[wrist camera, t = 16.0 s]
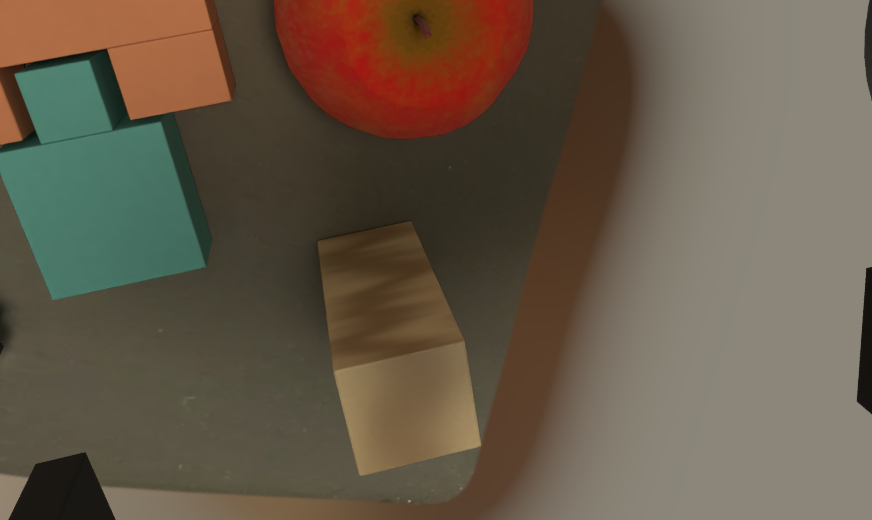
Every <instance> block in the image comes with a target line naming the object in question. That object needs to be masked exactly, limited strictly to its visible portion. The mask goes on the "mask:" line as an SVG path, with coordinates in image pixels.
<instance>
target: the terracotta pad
mask: <svg viewBox="0 0 872 520" xmlns="http://www.w3.org/2000/svg"><path fill="white" fill-rule="evenodd" d="M102 49H107V50H108V53H109V56H110V59H111V62H112V66H113V69H114V72H115V75H116V78H117V81H118V84H119V87H120V90H121V93H122V96H123V99H124V102H125V105H126V108H127V111H128V114H129V118H130V120H134V119H139V118H145V117H150V116H155V115H160V114H165V113H171V112H176V111H181V110H186V109H191V108H197V107H202V106H207V105H212V104H217V103H223V102H228V101H231V100H232V96H233V92H234V89H235V81H234V77H233V73H232V70H231V66H230V62H229V58H228V54H227V51H226V47H225V43H224V39H223V35H222V32H221V28H220V24H219V21H218V17H217V13H216V9H215V5H214V1H213V0H0V145H3V144H8V143H13V142H19V141H22V140H23V139H25V138H26V137H27V136H28V135H29V134H30V133H32V132H33V131H34V130H35V127H34V125H33V122H32V120H31V117H30V114H29V112H28V109H27V107H26V104H25V101H24V99H23V96H22V94H21V91H20V88H19V86H18V83H17V81H16V78H15V73H17V72H19V71H20V70H22V69H24V68H25V67H24V64H25V63H31V62H36V61H42V60H47V59H53V58H58V57H64V56H69V55H75V54H80V53H86V52H91V51H97V50H102Z"/></svg>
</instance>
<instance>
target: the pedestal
mask: <svg viewBox="0 0 872 520" xmlns="http://www.w3.org/2000/svg"><path fill="white" fill-rule="evenodd" d="M317 244H318V252H319V260H320V268H321V276H322V284H323V292H324V300H325V308H326V316H327V324H328V332H329V340H330V348H331V356H332V364H333V372H334V376H335V380H336V384H337V388H338V392H339V396H340V401H341V405H342V409H343V413H344V417H345V421H346V425H347V429H348V433H349V437H350V441H351V445H352V449H353V453H354V457H355V461H356V465H357V469H358V473H359V475H360V476H363V475H367V474H371V473H376V472H380V471H384V470H388V469H392V468H396V467H400V466H404V465H408V464H412V463H416V462H420V461H424V460H428V459H432V458H436V457H440V456H444V455H448V454H452V453H456V452H460V451H464V450H468V449H472V448H476V447H480V446H481V440H480V434H479V428H478V421H477V415H476V409H475V403H474V396H473V390H472V384H471V377H470V371H469V365H468V359H467V352H466V346H465V341H464V339H463V337H462V334H461V332H460V330H459V328H458V325H457V323H456V321H455V319H454V316H453V314H452V312H451V310H450V307H449V305H448V303H447V301H446V298H445V296H444V294H443V292H442V289H441V287H440V285H439V283H438V281H437V278H436V276H435V274H434V272H433V269H432V267H431V265H430V263H429V260H428V258H427V256H426V254H425V251H424V249H423V247H422V245H421V242H420V240H419V238H418V236H417V233H416V231H415V229H414V227H413V224H412V222H411V221H408V222H403V223H399V224H394V225H389V226H385V227H380V228H375V229H371V230H366V231H361V232H357V233H352V234H347V235H343V236H338V237H333V238H329V239H324V240H319V241H318V242H317Z"/></svg>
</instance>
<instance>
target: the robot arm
mask: <svg viewBox="0 0 872 520" xmlns="http://www.w3.org/2000/svg"><path fill="white" fill-rule="evenodd" d="M857 402H858V403H859V404H861V405H862V406H863V407H864V408H865V409H866V410H868V411H869V412H870V413H871V414H872V267H870V268H866V283H865V295H864V309H863V323H862V337H861V350H860V364H859V378H858V393H857ZM9 520H115V517H114V515H113V513H112V511H111V508H110V506H109V504H108V502H107V499H106V497H105V495H104V493H103V490H102V488H101V486H100V484H99V482H98V479H97V477H96V475H95V473H94V470H93V468H92V466H91V464H90V461H89V459H88V457H87V455H86V452H85V453H80V454H76V455H72V456H68V457H63V458H59V459H55V460H51V461H47V462H42V463H38V464H35V466H34V468H33V471H32V473H31V475H30V477H29V479H28V481H27V483H26V485H25V487H24V489H23V491H22V493H21V495H20V497H19V499H18V501H17V503H16V505H15V507H14V510H13V512H12V514H11V516H10V518H9Z"/></svg>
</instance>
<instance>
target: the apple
mask: <svg viewBox="0 0 872 520" xmlns="http://www.w3.org/2000/svg"><path fill="white" fill-rule="evenodd" d="M274 11H275V24H276V31H277V34H278V37H279V40H280V43H281V46H282V49H283V52H284V55H285V58H286V61H287V64H288V67H289V69H290V70H291V72H292V73H293V75H294V76H295V77H296V79H297V80H298V82H299V83H300V84H301V86H302V87H303V89H304V90H305V91H306V93H307V94H308V96H309V97H310V98H311V100H312V101H313V102H315V103H316V104H317V105H318V106H319V107H320V108H321V109H322V110H324V111H325V112H326V113H327V114H328V115H329V116H331V117H333V118H335V119H337V120H338V121H340V122H342V123H344V124H345V125H347V126H349V127H351V128H354V129H357V130H360V131H363V132H366V133H369V134H372V135H375V136H378V137H381V138H392V139H413V138H422V137H431V136H440V135H444V134H446V133H448V132H451V131H453V130H455V129H458V128H460V127H463V126H465V125H467V124H470V123H471V122H472V121H474V120H475V119H476V118H477V117H478V116H480V115H481V114H482V113H483V112H484V111H485V110H487V109H488V108H489V107H490V106H491V105H492V104H493V102H494V101H495V100H496V98H497V97H498V95H499V94H500V93H501V91H502V90H503V89H504V87H505V86H506V84H507V83H508V82H509V80H510V79H511V77H512V76H513V75H514V73H515V72H516V70H517V68H518V66H519V64H520V62H521V60H522V58H523V57H524V55H525V53H526V51H527V48H528V43H529V39H530V35H531V30H532V26H533V0H274Z"/></svg>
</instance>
